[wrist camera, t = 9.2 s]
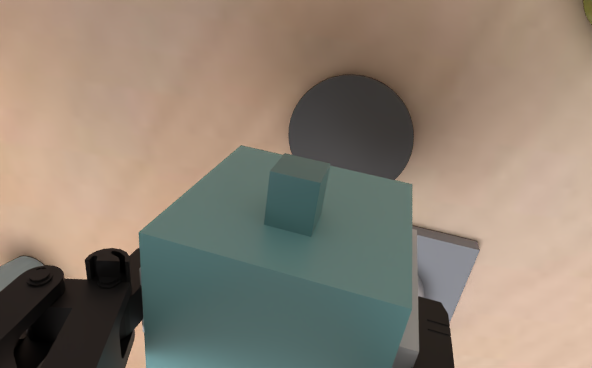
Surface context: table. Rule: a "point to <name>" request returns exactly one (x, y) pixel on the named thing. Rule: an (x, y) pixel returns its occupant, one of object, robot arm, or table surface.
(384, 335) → the teal cube with tab
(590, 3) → the plant pot
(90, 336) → the robot arm
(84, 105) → the table surface
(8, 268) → the cup
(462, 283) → the square plate with peg
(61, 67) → the table surface
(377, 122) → the coaster
